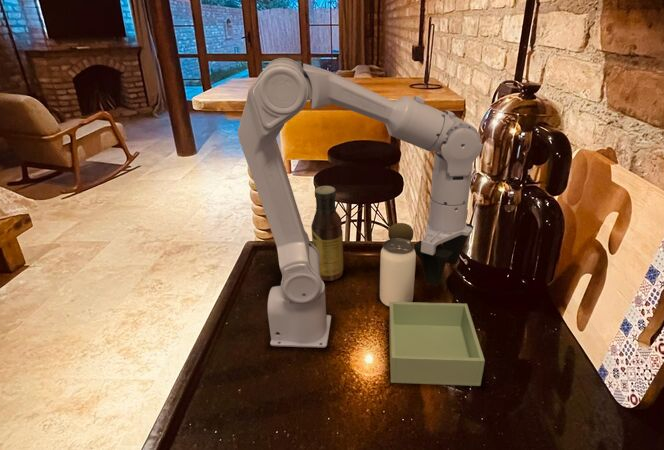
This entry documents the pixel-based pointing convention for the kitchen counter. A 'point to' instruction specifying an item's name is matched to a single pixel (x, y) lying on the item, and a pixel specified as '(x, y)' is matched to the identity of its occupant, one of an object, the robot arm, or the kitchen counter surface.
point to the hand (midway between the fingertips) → (441, 272)
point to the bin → (434, 344)
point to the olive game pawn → (401, 231)
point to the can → (397, 271)
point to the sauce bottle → (328, 234)
